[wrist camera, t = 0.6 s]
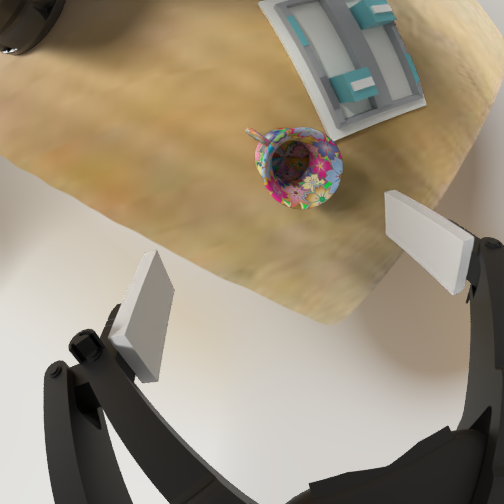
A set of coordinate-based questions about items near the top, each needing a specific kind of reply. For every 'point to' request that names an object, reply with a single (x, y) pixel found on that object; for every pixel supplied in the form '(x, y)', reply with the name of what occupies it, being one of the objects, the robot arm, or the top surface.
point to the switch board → (345, 61)
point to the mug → (298, 165)
